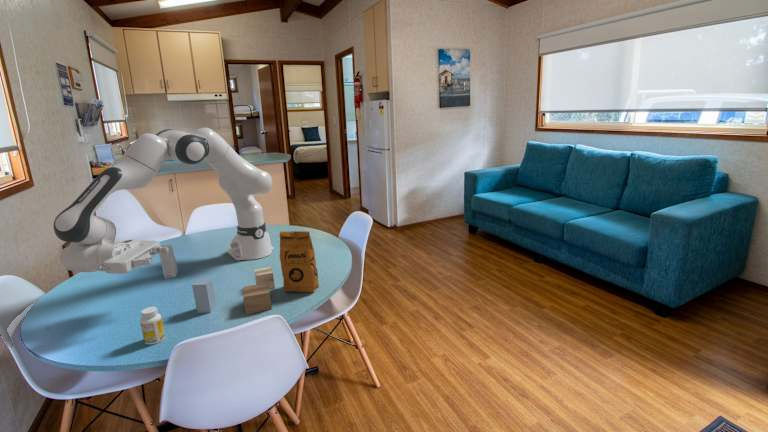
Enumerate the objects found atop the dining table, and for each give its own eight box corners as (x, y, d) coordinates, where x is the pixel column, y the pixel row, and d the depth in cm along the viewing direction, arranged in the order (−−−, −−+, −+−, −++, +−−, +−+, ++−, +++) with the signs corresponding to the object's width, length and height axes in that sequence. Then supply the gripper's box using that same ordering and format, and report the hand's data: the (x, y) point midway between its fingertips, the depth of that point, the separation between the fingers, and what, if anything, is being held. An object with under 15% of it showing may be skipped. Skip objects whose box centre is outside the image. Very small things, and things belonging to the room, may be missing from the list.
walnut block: (246, 303, 135) (243, 286, 134) (270, 298, 138) (268, 282, 136) (245, 313, 128) (243, 296, 126) (271, 309, 130) (269, 292, 129)
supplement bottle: (148, 347, 112) (141, 316, 109) (141, 341, 115) (134, 311, 113) (168, 338, 116) (162, 308, 113) (161, 332, 119) (154, 303, 117)
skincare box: (176, 277, 160) (170, 248, 156) (163, 279, 158) (158, 250, 155) (178, 271, 165) (172, 244, 162) (166, 273, 164) (160, 245, 161)
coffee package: (314, 295, 138) (308, 235, 133) (280, 294, 140) (273, 235, 135) (322, 283, 148) (317, 226, 142) (290, 282, 150) (284, 226, 144)
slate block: (197, 313, 130) (192, 285, 127) (203, 306, 134) (198, 279, 132) (210, 312, 130) (206, 284, 127) (216, 305, 134) (211, 278, 132)
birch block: (256, 284, 149) (254, 269, 148) (272, 281, 151) (270, 266, 150) (257, 291, 144) (255, 275, 142) (274, 287, 146) (272, 272, 145)
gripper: (90, 259, 116) (137, 258, 116) (133, 237, 136) (173, 236, 136) (95, 279, 118) (142, 278, 118) (137, 255, 138) (176, 253, 138)
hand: (159, 255), depth 127 cm, fingers open, 8 cm apart
